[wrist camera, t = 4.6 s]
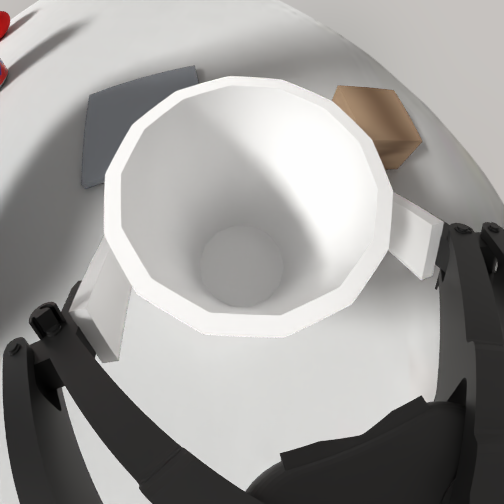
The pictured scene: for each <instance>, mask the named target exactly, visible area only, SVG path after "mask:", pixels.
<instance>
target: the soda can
mask: <svg viewBox="0 0 504 504" xmlns="http://www.w3.org/2000/svg"><path fill="white" fill-rule="evenodd" d="M7 75H8V70H7V68H6V66H5V65H4V63H3V62H2V60H1V58H0V88H1V86H2V85H3V83H4V82H5V79H6V77H7Z"/></svg>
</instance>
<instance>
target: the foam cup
mask: <svg viewBox="0 0 504 504" xmlns="http://www.w3.org/2000/svg"><path fill="white" fill-rule="evenodd" d="M392 202H393V189H392V187H391V184H390V182H389V179H388V176H387V174H386V171H385V169H384V166H383V164H382V162H381V159H380V157H379V155H378V152H377V150H376V148H375V145H374V143H373V141H372V139H371V138H370V137H369V136H368V135H367V134H366V133H365V132H364V131H363V130H362V129H361V128H360V127H359V126H358V125H357V124H356V123H355V122H354V121H353V120H352V119H351V118H350V117H349V116H348V115H347V114H346V113H345V112H344V111H343V110H342V109H341V108H339V107H338V106H337V105H336V104H335V103H334V102H333V101H331V100H329V99H327V98H325V97H322V96H320V95H318V94H316V93H314V92H311V91H309V90H307V89H304V88H302V87H300V86H297V85H295V84H292V83H290V82H287V81H285V80H281V79H271V78H258V77H241V76H227V77H223V78H219V79H215V80H211V81H208V82H204V83H201V84H197V85H194V86H191V87H187V88H184V89H181V90H178V91H175V92H174V93H173V94H171V95H170V96H168V97H167V98H166V99H164V100H163V101H162V102H160V103H159V104H158V105H156V106H155V107H154V108H152V109H151V110H150V111H148V112H147V113H146V114H145V115H143V116H142V117H141V118H140V119H138V120H137V121H136V122H135V123H134V124H132V126H131V127H130V129H129V131H128V133H127V134H126V136H125V138H124V139H123V141H122V143H121V145H120V147H119V149H118V150H117V152H116V154H115V156H114V158H113V160H112V162H111V164H110V166H109V168H108V170H107V171H106V174H105V187H104V236H105V238H106V240H107V242H108V244H109V245H110V247H111V249H112V251H113V253H114V255H115V257H116V259H117V260H118V262H119V264H120V266H121V268H122V269H123V271H124V273H125V275H126V277H127V278H128V280H129V282H130V283H131V285H132V287H133V289H134V290H135V292H136V294H137V295H139V296H140V297H142V298H143V299H145V300H146V301H148V302H150V303H151V304H153V305H154V306H156V307H158V308H159V309H161V310H162V311H164V312H166V313H167V314H169V315H171V316H172V317H174V318H176V319H177V320H179V321H181V322H182V323H184V324H186V325H188V326H189V327H191V328H193V329H195V330H196V331H198V332H200V333H202V334H203V335H219V336H238V337H266V338H285V337H288V336H290V335H292V334H294V333H296V332H298V331H300V330H302V329H304V328H306V327H309V326H311V325H313V324H315V323H317V322H319V321H321V320H323V319H325V318H327V317H329V316H331V315H333V314H334V313H336V312H338V311H340V310H342V309H344V308H346V307H348V306H350V305H352V304H353V302H354V301H355V300H356V298H357V297H358V295H359V294H360V292H361V291H362V289H363V288H364V287H365V285H366V284H367V282H368V281H369V279H370V278H371V276H372V275H373V273H374V272H375V270H376V269H377V267H378V265H379V264H380V262H381V261H382V259H383V258H384V256H385V254H386V253H387V251H388V250H389V241H390V231H391V218H392Z"/></svg>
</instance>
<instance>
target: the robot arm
mask: <svg viewBox="0 0 504 504" xmlns="http://www.w3.org/2000/svg"><path fill="white" fill-rule="evenodd" d="M388 251H389V252H390V253H392V254H393V255H394V256H395V257H396V258H397V259H398V260H399V261H401V262H402V263H403V264H404V265H405V266H406V267H407V268H408V269H409V270H410V271H412V272H413V273H414V274H415V275H416V276H417V277H418V278H419V279H420V280H424V279H426V278H429V277H431V276H433V272H434V268H435V264H436V265H437V266H438V267H439V268H440V272H439V276H438V279H437V283H436V287H435V289H437V288H438V286H439V293H440V353H439V369H438V381H437V391H436V396H435V399H434V402H428V403H426V402H425V400H424V399H423V397H422V396H420V397H418V398H416V399H414V400H412V401H411V402H409V403H407V404H405V405H403V406H401V407H399V408H397V409H395V410H393V411H392V412H390V413H389V414H388V415H387V416H386V417H384V418H383V419H382V420H381V421H380V422H378V423H377V424H376V425H375V426H373V427H372V428H371V429H369V430H368V431H367V432H366V433H364V434H362V435H360V436H354V437H348V438H342V439H335V440H327V441H319V442H316V443H313V444H310V445H307V446H304V447H301V448H297V449H294V450H290V451H287V452H283V453H280V456H281V462H279V463H277V464H275V465H273V466H272V467H270V468H269V469H267V470H266V471H264V472H263V473H262V474H261V475H260V476H258V477H257V478H256V479H255V480H254V481H253V482H252V484H251V485H250V486H249V487H248V489H247V490H246V492H245V491H243V490H241V489H240V488H238V487H237V486H235V485H234V484H232V483H231V482H229V481H228V480H226V479H225V478H223V477H222V476H221V475H219V474H218V473H216V472H215V471H214V470H212V469H211V468H209V467H208V466H207V465H205V464H204V463H203V462H202V461H200V460H199V459H198V458H196V457H195V456H194V455H192V454H191V453H190V452H189V451H187V450H186V449H185V448H183V447H181V446H180V445H179V444H177V443H176V442H175V441H174V440H173V439H172V438H170V437H169V436H168V435H167V434H166V433H165V432H164V431H163V430H161V429H160V428H159V427H158V426H157V425H156V424H155V423H154V422H153V421H152V420H151V419H150V418H149V417H148V416H147V415H145V414H144V413H143V412H142V411H141V410H140V409H139V408H138V407H137V406H136V405H135V404H134V403H133V401H132V400H131V399H130V398H129V397H128V396H127V395H126V394H125V393H124V392H123V391H122V390H121V389H120V388H119V387H118V385H117V384H116V383H115V382H114V381H113V380H112V379H111V378H110V376H109V375H108V374H107V373H106V372H105V371H104V369H103V368H102V367H101V366H100V365H99V363H98V362H97V361H96V360H95V355H96V354H97V356H98V357H99V359H100V360H101V361H102V363H107V362H114V361H119V356H120V349H121V343H122V337H123V331H124V325H125V319H126V314H127V309H128V304H129V299H130V294H131V289H132V285H131V283H130V282H129V280H128V278H127V277H126V275H125V273H124V271H123V269H122V268H121V266H120V264H119V262H118V260H117V259H116V257H115V255H114V253H113V251H112V249H111V247H110V245H109V244H108V242H107V240H106V238H105V236H104V237H103V239H102V241H101V243H100V244H99V246H98V248H97V250H96V252H95V254H94V256H93V258H92V260H91V263H90V265H89V267H88V269H87V271H86V273H85V275H84V277H83V280H81V281H78V282H77V283H76V284H75V285H74V287H73V288H72V289H71V291H70V293H69V295H68V298H67V300H66V303H65V304H64V307H63V309H62V311H61V312H60V310H59V308H58V306H57V305H56V304H55V303H54V302H47V303H44V304H42V305H41V306H39V307H38V308H37V309H35V310H34V312H33V313H32V314H31V316H30V318H29V324H30V325H31V327H32V328H33V330H34V331H35V333H36V334H37V335H38V337H39V338H40V341H38V342H35V343H33V344H31V345H29V344H28V343H27V341H26V340H25V339H24V338H23V337H19V338H16V339H14V340H13V341H11V342H10V343H9V344H8V345H7V347H6V349H5V350H4V354H3V408H4V421H5V431H6V440H7V447H8V453H9V459H10V464H11V469H12V474H13V479H14V483H15V487H16V491H17V495H18V498H19V502H20V504H103V503H102V501H101V499H100V496H99V494H98V492H97V490H96V488H95V486H94V484H93V481H92V479H91V477H90V474H89V472H88V470H87V467H86V465H85V462H84V459H83V457H82V454H81V452H80V449H79V446H78V443H77V440H76V437H75V434H74V431H73V428H72V425H71V421H70V418H69V415H68V411H67V407H66V404H65V400H64V396H63V392H62V387H63V386H66V388H67V390H68V391H69V393H70V395H71V396H72V398H73V400H74V401H75V403H76V404H77V406H78V407H79V409H80V410H81V412H82V413H83V415H84V416H85V418H86V419H87V421H88V422H89V423H90V425H91V426H92V428H93V429H94V430H95V432H96V433H97V434H98V436H99V437H100V438H101V440H102V441H103V442H104V444H105V445H106V446H107V447H108V449H109V450H110V451H111V452H112V454H113V455H114V456H115V457H116V458H117V460H118V461H119V462H120V463H121V464H122V465H123V467H124V468H125V469H126V470H127V471H128V472H129V473H130V474H131V475H132V477H133V478H134V479H135V480H136V481H137V482H138V484H139V489H140V490H141V492H142V493H143V494H144V496H145V497H146V498H147V499H148V500H149V501H150V502H151V503H152V504H504V229H503V228H501V227H500V226H498V225H497V224H495V223H492V222H491V223H489V222H487V223H483V226H482V230H481V232H478V233H474V231H473V229H471V228H470V227H469V226H466V225H464V224H460V223H453V224H451V225H448V224H447V223H445V222H444V221H442V220H441V219H439V218H438V217H436V216H434V215H433V214H431V213H429V212H428V211H426V210H425V209H423V208H421V207H419V206H417V205H416V204H414V203H412V202H410V201H409V200H407V199H405V198H404V197H402V196H400V195H398V194H396V193H395V192H393V202H392V218H391V231H390V241H389V250H388ZM497 262H498V267H497V271H495V266H496V263H497Z"/></svg>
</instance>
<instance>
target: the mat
mask: <svg viewBox="0 0 504 504" xmlns="http://www.w3.org/2000/svg"><path fill="white" fill-rule="evenodd" d="M197 84H199V82H198V78H197V74H196V69H195V66H189V67H184V68H180V69H175V70H171V71H166V72H162V73H158V74H154V75H151V76H147V77H143V78H140V79H136V80H133V81H129V82H126V83H123V84H120V85H117V86H114V87H111V88H108V89H105V90H102V91H99V92H97V93H94V94H91V95H89V101H88V108H87V116H86V124H85V134H84V145H83V159H82V183H81V185H82V186H83V187H84V188H85V189H86V188H89V187H92V186H95V185H98V184H101V183H104V182H105V174H106V171H107V170H108V168H109V166H110V164H111V162H112V160H113V158H114V156H115V154H116V152H117V150H118V149H119V147H120V145H121V143H122V141H123V139H124V138H125V136H126V134H127V133H128V131H129V129H130V127H131V126H132V124H134V123H135V122H136V121H137V120H138V119H140V118H141V117H142V116H143V115H145V114H146V113H147V112H148V111H150V110H151V109H152V108H154V107H155V106H156V105H158V104H159V103H160V102H162V101H163V100H164V99H166V98H167V97H168V96H170V95H171V94H173V93H174V92H175V91H178V90H181V89H184V88H187V87H191V86H194V85H197Z"/></svg>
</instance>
